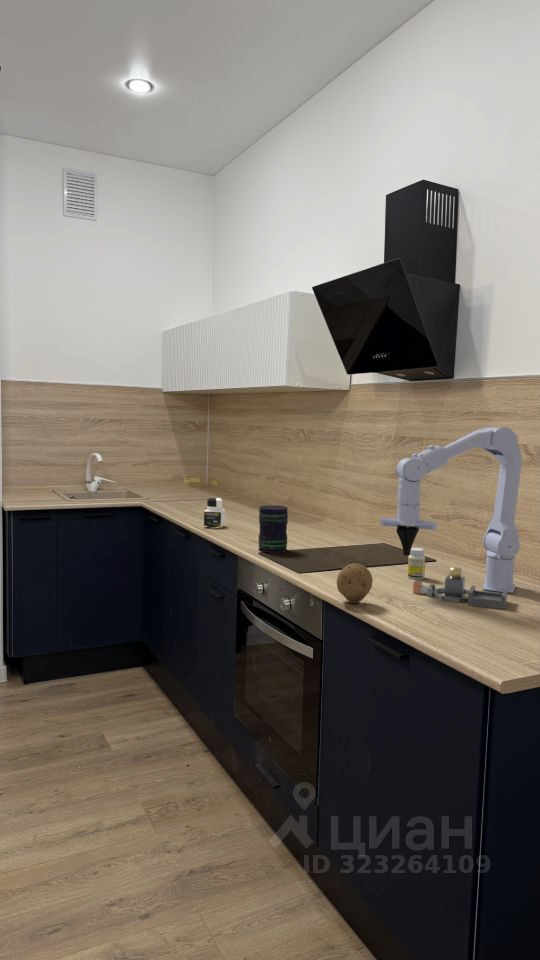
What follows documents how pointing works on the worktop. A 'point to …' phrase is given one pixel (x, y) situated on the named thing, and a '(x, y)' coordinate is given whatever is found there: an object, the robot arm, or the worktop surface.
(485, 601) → the rack
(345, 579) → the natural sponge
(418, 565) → the supplement bottle
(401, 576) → the worktop surface
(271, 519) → the storage jar
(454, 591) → the gold-capped square jar
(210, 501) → the medicine bottle
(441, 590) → the socket
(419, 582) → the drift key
